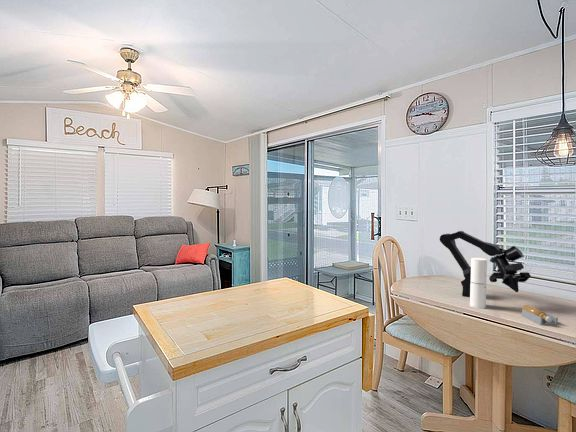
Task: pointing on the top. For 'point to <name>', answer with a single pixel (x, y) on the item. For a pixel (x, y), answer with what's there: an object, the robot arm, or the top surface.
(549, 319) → the amber bottle
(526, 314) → the grey cradle
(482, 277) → the cylindrical container
